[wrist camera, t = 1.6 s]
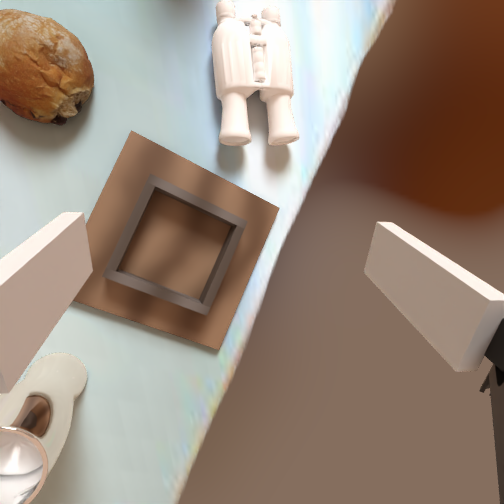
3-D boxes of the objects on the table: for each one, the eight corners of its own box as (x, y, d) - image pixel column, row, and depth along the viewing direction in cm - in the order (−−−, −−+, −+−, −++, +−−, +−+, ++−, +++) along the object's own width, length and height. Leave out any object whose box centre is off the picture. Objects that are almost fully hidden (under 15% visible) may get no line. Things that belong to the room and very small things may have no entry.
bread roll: (97, 68, 38) (80, -6, 31) (101, 133, 35) (83, 68, 27) (1, 62, 35) (-42, -21, 28) (-5, 133, 32) (-56, 59, 25)
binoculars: (216, 148, 40) (224, 136, 35) (202, 16, 38) (209, -13, 34) (290, 147, 43) (306, 136, 38) (280, 25, 42) (295, 0, 37)
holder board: (55, 291, 35) (43, 298, 31) (132, 133, 36) (129, 120, 32) (217, 347, 40) (224, 358, 37) (276, 208, 42) (288, 205, 38)
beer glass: (80, 413, 36) (32, 529, 22) (12, 404, 34) (-92, 526, 19) (100, 354, 36) (65, 430, 22) (33, 342, 34) (-54, 417, 20)
